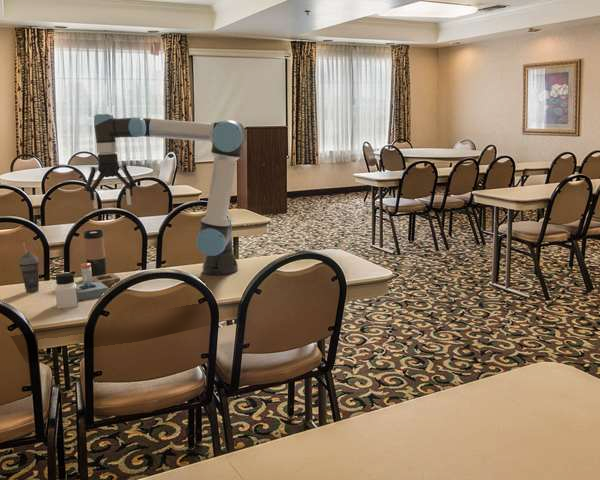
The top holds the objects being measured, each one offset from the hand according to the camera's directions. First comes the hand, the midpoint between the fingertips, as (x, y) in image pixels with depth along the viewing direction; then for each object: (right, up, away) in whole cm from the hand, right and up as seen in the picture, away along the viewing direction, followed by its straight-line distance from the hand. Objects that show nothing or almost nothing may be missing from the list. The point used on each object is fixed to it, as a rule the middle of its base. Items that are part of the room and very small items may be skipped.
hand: (112, 206), depth 253 cm
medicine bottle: (-9, -38, -25) cm, 46 cm away
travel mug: (-10, -30, +14) cm, 34 cm away
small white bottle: (-6, -34, -11) cm, 37 cm away
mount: (-4, -32, +2) cm, 32 cm away
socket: (-6, -34, -11) cm, 37 cm away
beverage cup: (-30, -34, -5) cm, 46 cm away
